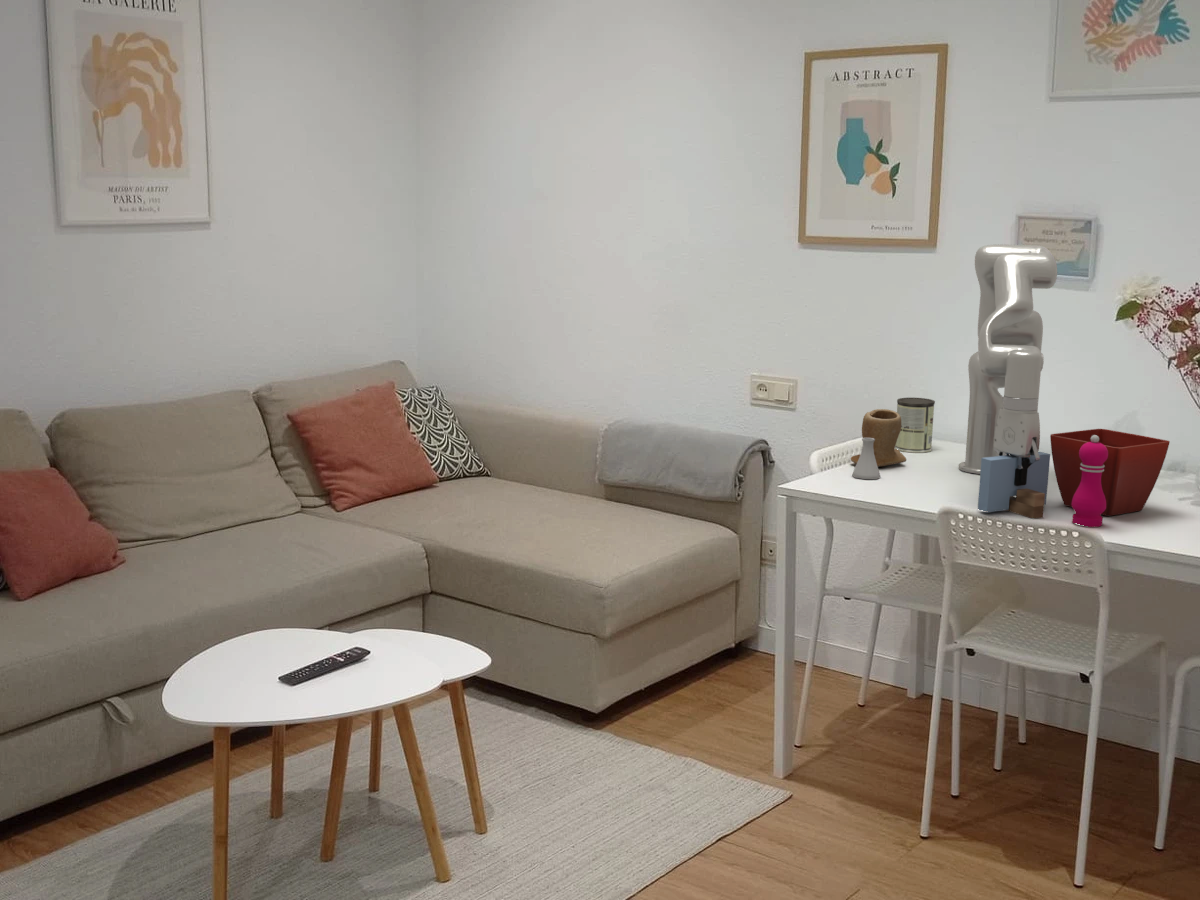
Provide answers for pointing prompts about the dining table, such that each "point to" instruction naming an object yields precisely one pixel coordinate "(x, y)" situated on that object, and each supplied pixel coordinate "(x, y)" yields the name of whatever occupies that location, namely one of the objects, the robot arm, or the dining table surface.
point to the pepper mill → (1090, 485)
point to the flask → (867, 462)
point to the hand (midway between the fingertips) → (1014, 482)
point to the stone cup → (883, 436)
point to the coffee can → (915, 424)
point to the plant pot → (1111, 467)
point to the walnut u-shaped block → (1027, 503)
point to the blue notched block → (1009, 480)
